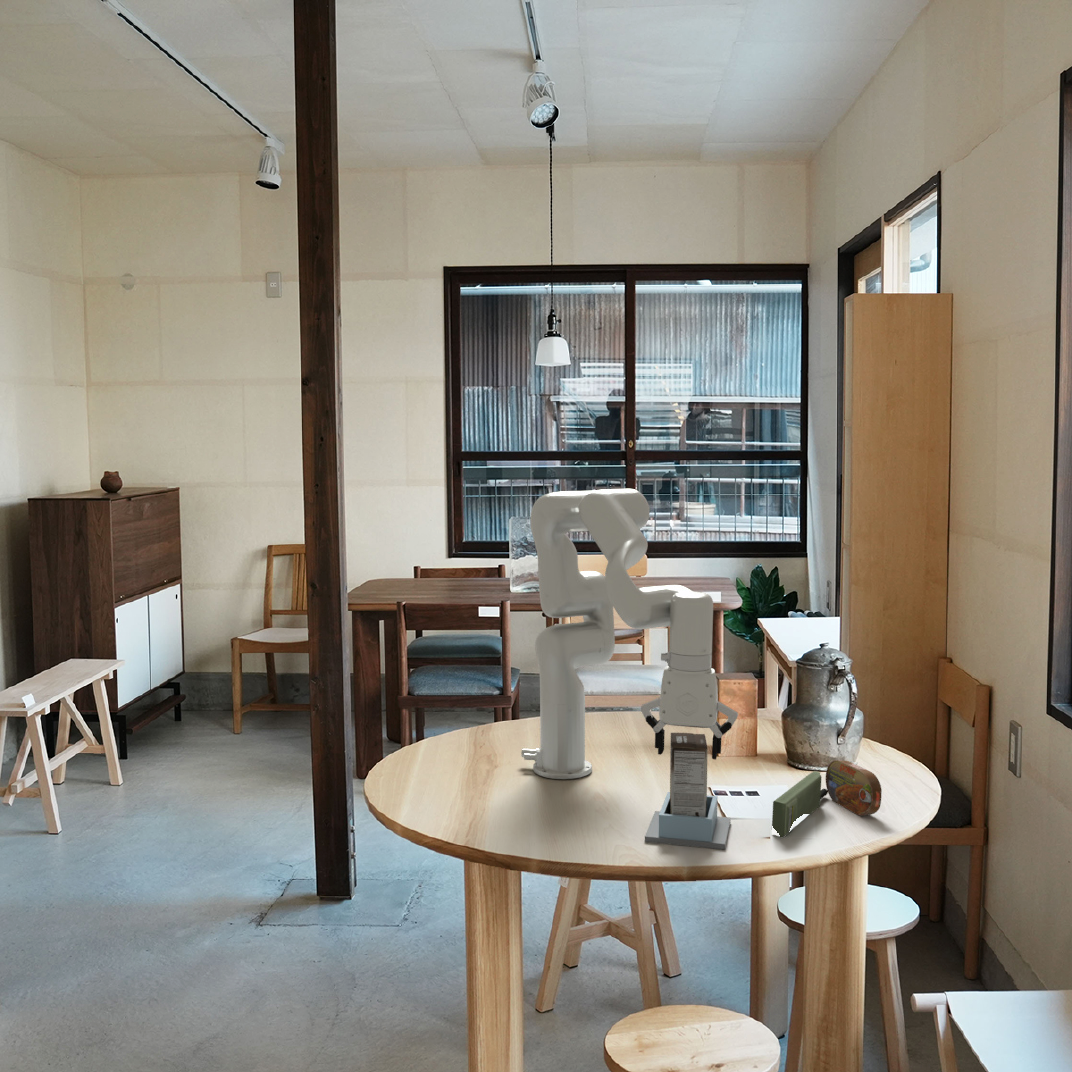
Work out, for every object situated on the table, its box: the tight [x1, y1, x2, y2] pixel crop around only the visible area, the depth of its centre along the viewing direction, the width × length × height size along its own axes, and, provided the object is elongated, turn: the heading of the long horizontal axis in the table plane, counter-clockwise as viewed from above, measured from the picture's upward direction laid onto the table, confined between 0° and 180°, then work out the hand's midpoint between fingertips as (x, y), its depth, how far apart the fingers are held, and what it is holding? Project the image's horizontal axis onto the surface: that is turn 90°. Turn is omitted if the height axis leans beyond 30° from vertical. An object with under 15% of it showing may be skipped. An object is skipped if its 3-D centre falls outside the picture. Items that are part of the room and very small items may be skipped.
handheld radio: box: [771, 770, 829, 838], centre depth 197 cm, size 7×3×25 cm
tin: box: [825, 759, 883, 816], centre depth 201 cm, size 15×3×8 cm, turn 18°
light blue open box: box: [644, 791, 731, 851], centre depth 189 cm, size 14×13×5 cm
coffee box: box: [669, 732, 708, 817], centre depth 188 cm, size 9×6×16 cm
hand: (687, 754), depth 188 cm, fingers open, 9 cm apart
